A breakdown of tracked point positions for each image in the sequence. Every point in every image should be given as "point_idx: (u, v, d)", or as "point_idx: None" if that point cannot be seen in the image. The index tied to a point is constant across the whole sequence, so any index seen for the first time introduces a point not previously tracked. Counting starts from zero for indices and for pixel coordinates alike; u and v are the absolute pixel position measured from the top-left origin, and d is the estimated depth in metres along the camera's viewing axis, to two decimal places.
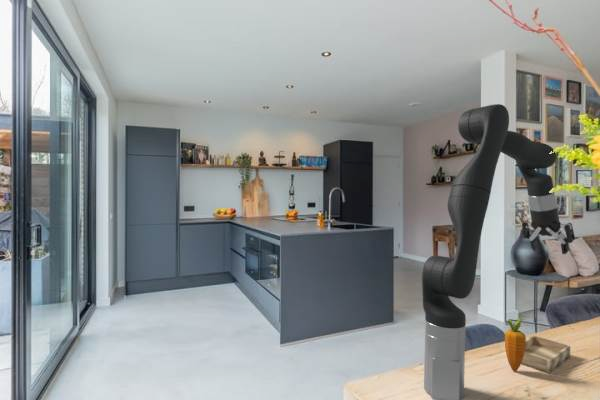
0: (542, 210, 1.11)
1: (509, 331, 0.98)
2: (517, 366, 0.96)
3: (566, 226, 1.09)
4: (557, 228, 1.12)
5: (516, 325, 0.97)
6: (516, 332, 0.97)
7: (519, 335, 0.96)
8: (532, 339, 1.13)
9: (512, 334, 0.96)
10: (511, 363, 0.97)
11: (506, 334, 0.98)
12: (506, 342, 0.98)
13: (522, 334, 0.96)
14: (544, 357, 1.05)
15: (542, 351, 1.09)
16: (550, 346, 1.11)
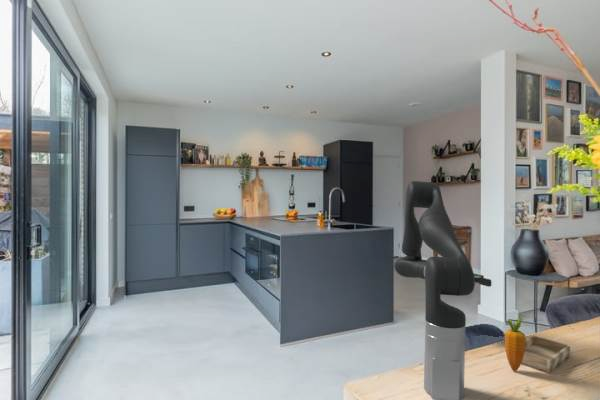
0: None
1: (509, 331, 0.98)
2: (517, 366, 0.96)
3: None
4: None
5: (516, 325, 0.97)
6: (516, 332, 0.97)
7: (519, 335, 0.96)
8: (532, 339, 1.13)
9: (512, 334, 0.96)
10: (511, 363, 0.97)
11: (506, 334, 0.98)
12: (506, 342, 0.98)
13: (522, 334, 0.96)
14: (544, 357, 1.05)
15: (542, 351, 1.09)
16: (550, 346, 1.11)
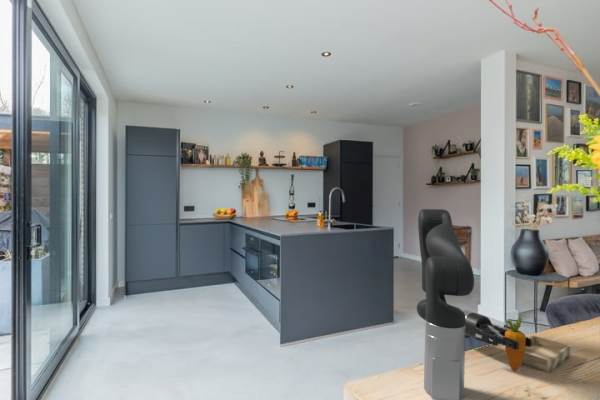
0: None
1: (509, 331, 0.98)
2: (517, 366, 0.96)
3: (505, 325, 1.07)
4: None
5: (516, 325, 0.97)
6: (516, 332, 0.96)
7: (519, 335, 0.96)
8: (532, 339, 1.13)
9: (512, 334, 0.96)
10: (511, 363, 0.97)
11: (506, 334, 0.98)
12: None
13: (522, 334, 0.96)
14: (544, 357, 1.05)
15: (542, 351, 1.09)
16: (550, 346, 1.11)
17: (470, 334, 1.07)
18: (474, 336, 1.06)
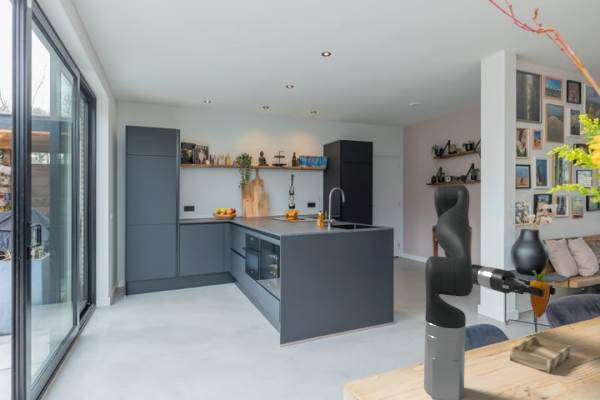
0: None
1: (534, 281, 1.06)
2: (541, 312, 1.05)
3: (528, 279, 1.15)
4: None
5: (541, 275, 1.05)
6: (541, 281, 1.05)
7: (544, 284, 1.04)
8: (532, 339, 1.13)
9: (537, 283, 1.05)
10: (536, 310, 1.05)
11: (531, 284, 1.06)
12: None
13: (546, 283, 1.04)
14: (544, 357, 1.05)
15: (542, 351, 1.09)
16: (550, 346, 1.11)
17: (496, 287, 1.15)
18: (500, 289, 1.14)
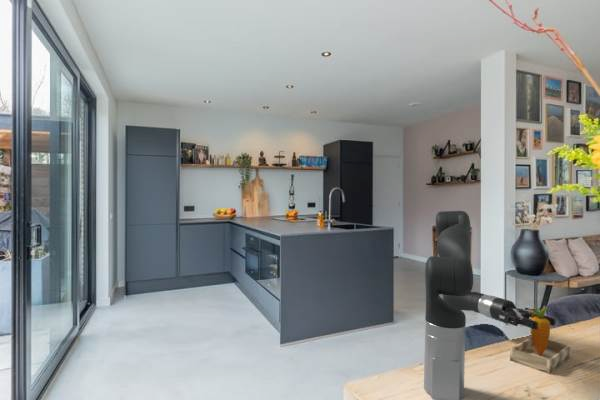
0: None
1: (534, 318, 1.06)
2: (542, 350, 1.05)
3: (526, 308, 1.16)
4: None
5: (541, 312, 1.05)
6: (541, 319, 1.05)
7: (544, 321, 1.04)
8: None
9: (537, 320, 1.05)
10: (537, 347, 1.05)
11: None
12: (532, 328, 1.06)
13: (547, 320, 1.05)
14: (544, 357, 1.05)
15: None
16: (550, 346, 1.11)
17: (496, 317, 1.16)
18: None
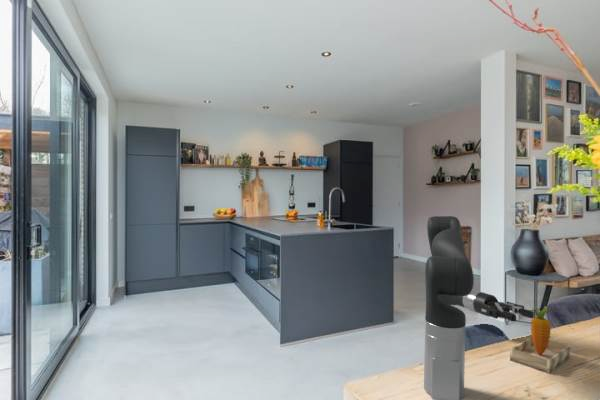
0: (482, 292, 1.26)
1: (535, 318, 1.06)
2: (543, 350, 1.05)
3: (507, 302, 1.22)
4: None
5: (542, 313, 1.05)
6: (542, 319, 1.05)
7: (545, 322, 1.04)
8: None
9: (538, 321, 1.05)
10: (537, 348, 1.05)
11: (532, 321, 1.06)
12: (532, 328, 1.06)
13: (548, 321, 1.04)
14: (544, 357, 1.05)
15: None
16: (550, 346, 1.11)
17: (479, 311, 1.22)
18: None
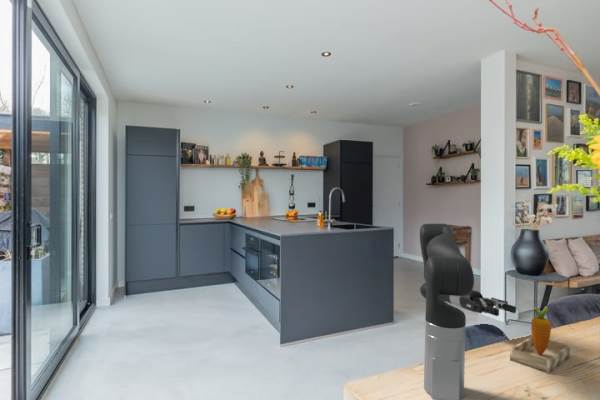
0: None
1: (536, 318, 1.06)
2: (543, 350, 1.05)
3: (492, 298, 1.28)
4: None
5: (542, 313, 1.05)
6: (542, 319, 1.05)
7: (545, 322, 1.04)
8: (532, 339, 1.13)
9: (539, 321, 1.05)
10: (537, 347, 1.05)
11: (533, 321, 1.06)
12: (533, 328, 1.06)
13: (548, 321, 1.04)
14: (544, 357, 1.05)
15: None
16: (550, 346, 1.11)
17: (465, 306, 1.27)
18: None
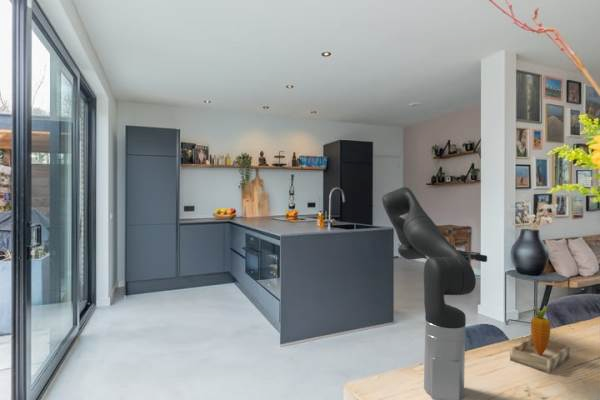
0: None
1: (535, 318, 1.06)
2: (543, 350, 1.05)
3: None
4: None
5: (542, 312, 1.05)
6: (542, 319, 1.05)
7: (545, 321, 1.04)
8: None
9: (538, 321, 1.05)
10: (537, 347, 1.05)
11: (532, 321, 1.06)
12: (532, 328, 1.06)
13: (547, 321, 1.05)
14: (544, 357, 1.05)
15: None
16: (550, 346, 1.11)
17: None
18: None
